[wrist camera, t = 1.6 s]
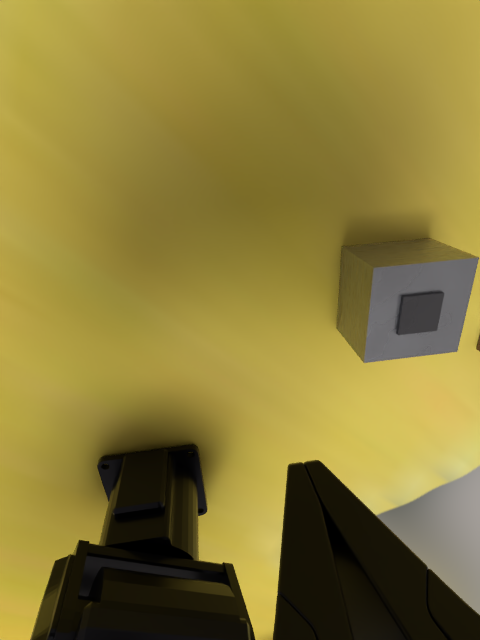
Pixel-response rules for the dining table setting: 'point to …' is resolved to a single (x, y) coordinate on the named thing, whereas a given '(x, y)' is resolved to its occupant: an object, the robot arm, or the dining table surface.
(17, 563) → the dining table surface
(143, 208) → the dining table surface
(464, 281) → the socket
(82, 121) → the dining table surface
